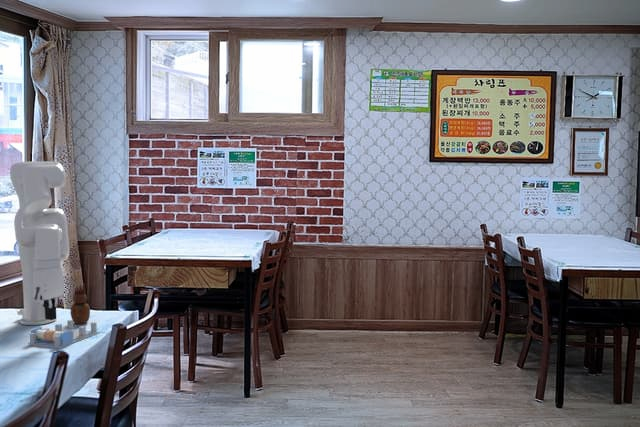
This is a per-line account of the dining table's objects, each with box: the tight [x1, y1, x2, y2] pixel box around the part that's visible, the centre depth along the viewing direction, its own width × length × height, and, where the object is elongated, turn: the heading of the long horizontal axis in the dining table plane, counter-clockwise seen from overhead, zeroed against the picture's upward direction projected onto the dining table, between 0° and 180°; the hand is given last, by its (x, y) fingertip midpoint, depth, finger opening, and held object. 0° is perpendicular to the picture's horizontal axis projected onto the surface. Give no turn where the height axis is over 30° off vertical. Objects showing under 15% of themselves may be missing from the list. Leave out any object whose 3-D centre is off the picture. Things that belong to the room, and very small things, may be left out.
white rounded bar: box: [36, 329, 63, 342], centre depth 216 cm, size 11×4×4 cm, turn 70°
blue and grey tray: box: [28, 319, 100, 349], centre depth 221 cm, size 13×19×5 cm
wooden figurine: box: [70, 283, 91, 325], centre depth 242 cm, size 7×6×15 cm
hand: (50, 319), depth 215 cm, fingers closed
